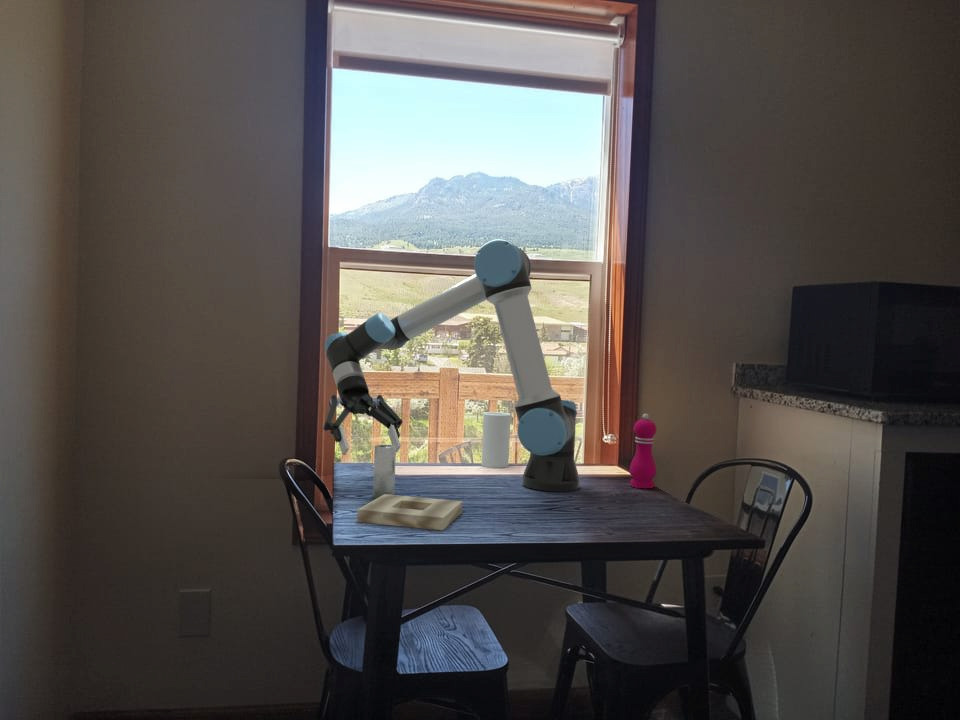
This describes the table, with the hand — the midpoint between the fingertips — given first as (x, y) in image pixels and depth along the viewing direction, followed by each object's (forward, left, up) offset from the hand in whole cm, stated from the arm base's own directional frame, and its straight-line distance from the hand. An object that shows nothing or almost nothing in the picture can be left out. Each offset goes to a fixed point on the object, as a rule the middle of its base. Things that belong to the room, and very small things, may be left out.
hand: (372, 450), depth 176 cm
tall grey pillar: (-4, +3, -10) cm, 12 cm away
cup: (-20, -52, -10) cm, 57 cm away
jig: (-16, +19, -10) cm, 27 cm away
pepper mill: (-64, -36, -10) cm, 75 cm away
